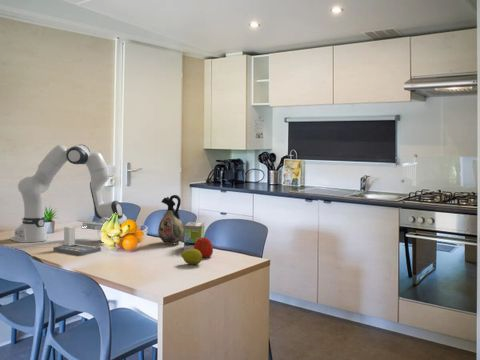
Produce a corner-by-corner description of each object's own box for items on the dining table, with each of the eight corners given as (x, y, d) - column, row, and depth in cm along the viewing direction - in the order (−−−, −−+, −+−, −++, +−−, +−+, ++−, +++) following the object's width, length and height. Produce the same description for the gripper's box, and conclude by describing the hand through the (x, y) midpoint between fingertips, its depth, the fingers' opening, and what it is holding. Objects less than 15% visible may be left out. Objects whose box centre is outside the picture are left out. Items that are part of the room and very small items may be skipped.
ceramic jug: (153, 244, 271) (153, 194, 269) (164, 240, 286) (165, 193, 284) (179, 247, 266) (180, 196, 264) (189, 242, 281) (190, 194, 279)
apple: (195, 259, 235) (195, 239, 235) (191, 255, 245) (192, 235, 245) (214, 258, 238) (214, 238, 238) (210, 254, 248) (210, 235, 248)
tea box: (201, 252, 253) (201, 225, 253) (183, 251, 254) (183, 225, 253) (204, 246, 269) (204, 221, 268) (187, 246, 269) (187, 221, 268)
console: (53, 251, 248) (53, 246, 247) (73, 246, 260) (73, 242, 260) (81, 255, 238) (81, 250, 238) (100, 251, 250) (100, 246, 250)
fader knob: (62, 245, 251) (62, 227, 250) (69, 244, 255) (69, 225, 255) (69, 247, 248) (69, 227, 247) (76, 245, 252) (76, 226, 252)
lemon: (205, 264, 225) (205, 248, 224) (197, 267, 218) (197, 251, 217) (186, 261, 229) (187, 246, 229) (178, 265, 222) (178, 248, 222)
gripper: (92, 218, 280) (75, 221, 267) (118, 220, 270) (100, 223, 258) (92, 228, 280) (75, 231, 268) (118, 231, 270) (101, 234, 258)
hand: (88, 227), depth 263 cm, fingers open, 8 cm apart
